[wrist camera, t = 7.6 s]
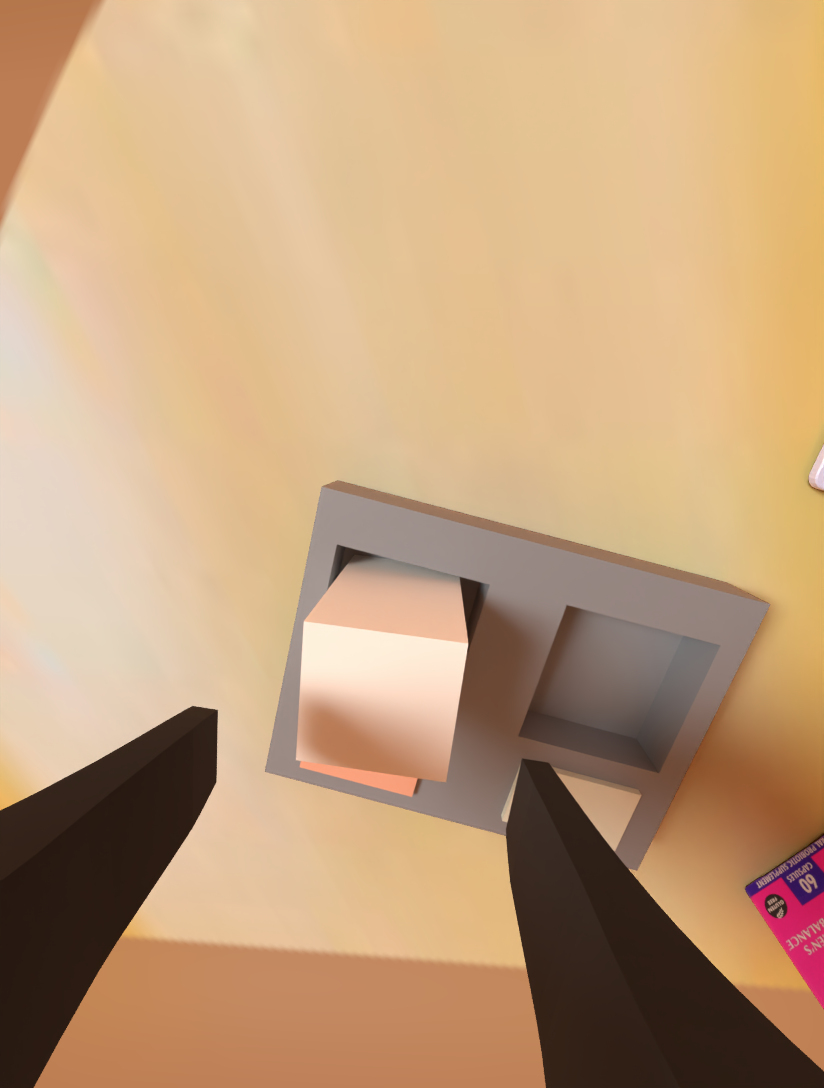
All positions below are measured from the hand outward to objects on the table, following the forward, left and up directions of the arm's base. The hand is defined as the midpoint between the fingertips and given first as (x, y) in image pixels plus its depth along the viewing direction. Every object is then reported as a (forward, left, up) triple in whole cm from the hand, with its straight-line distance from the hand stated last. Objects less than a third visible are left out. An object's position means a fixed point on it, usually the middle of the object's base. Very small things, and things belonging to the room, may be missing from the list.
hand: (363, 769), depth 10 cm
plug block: (0, 0, -9) cm, 9 cm away
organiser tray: (-4, +2, -10) cm, 11 cm away
